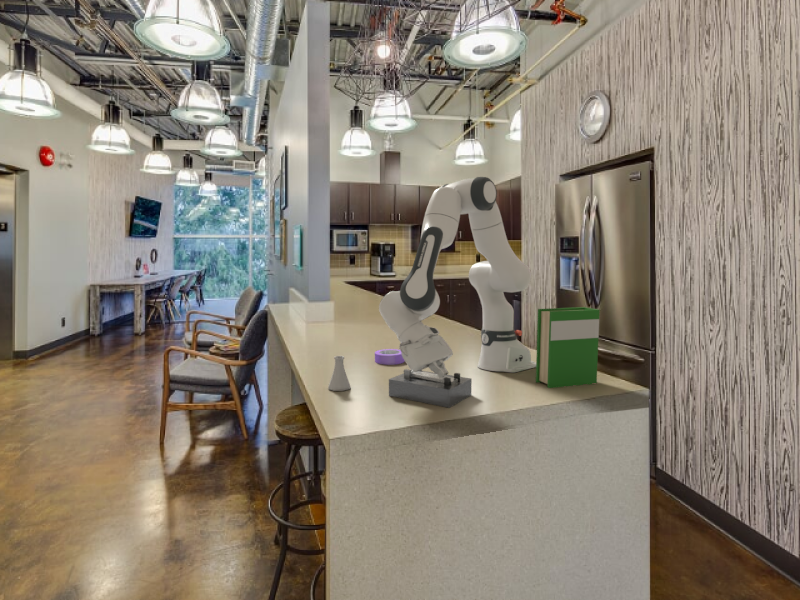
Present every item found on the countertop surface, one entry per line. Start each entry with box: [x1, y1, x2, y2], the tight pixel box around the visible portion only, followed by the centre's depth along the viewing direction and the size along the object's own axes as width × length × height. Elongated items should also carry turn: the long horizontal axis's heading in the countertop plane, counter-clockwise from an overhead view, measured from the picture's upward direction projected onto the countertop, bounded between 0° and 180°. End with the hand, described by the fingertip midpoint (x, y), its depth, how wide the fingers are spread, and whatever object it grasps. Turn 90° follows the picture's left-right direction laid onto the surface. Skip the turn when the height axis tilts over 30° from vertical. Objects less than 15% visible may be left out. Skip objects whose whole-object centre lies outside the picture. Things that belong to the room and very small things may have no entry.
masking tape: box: [374, 348, 406, 366], centre depth 186 cm, size 12×12×4 cm
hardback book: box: [535, 306, 601, 389], centre depth 154 cm, size 18×7×24 cm, turn 107°
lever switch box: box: [388, 368, 472, 409], centre depth 141 cm, size 20×14×8 cm
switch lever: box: [411, 370, 458, 384], centre depth 140 cm, size 15×4×1 cm, turn 57°
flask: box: [327, 355, 351, 392], centre depth 148 cm, size 7×7×10 cm
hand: (444, 375), depth 138 cm, fingers closed
